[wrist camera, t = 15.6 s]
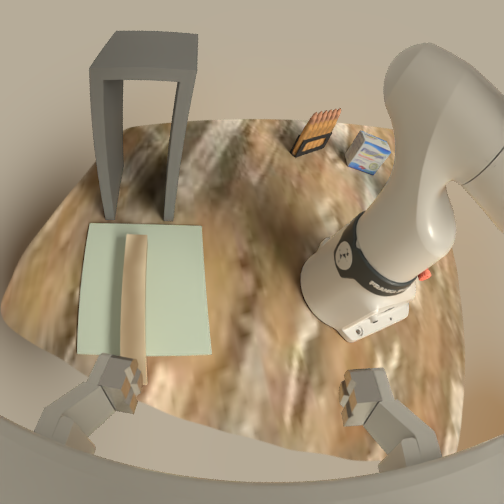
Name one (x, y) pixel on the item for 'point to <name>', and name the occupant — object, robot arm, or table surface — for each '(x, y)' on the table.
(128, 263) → the beech bar
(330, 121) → the ammunition clip
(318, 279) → the robot arm
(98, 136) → the stand
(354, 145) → the medicine box
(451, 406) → the table surface
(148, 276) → the mat
